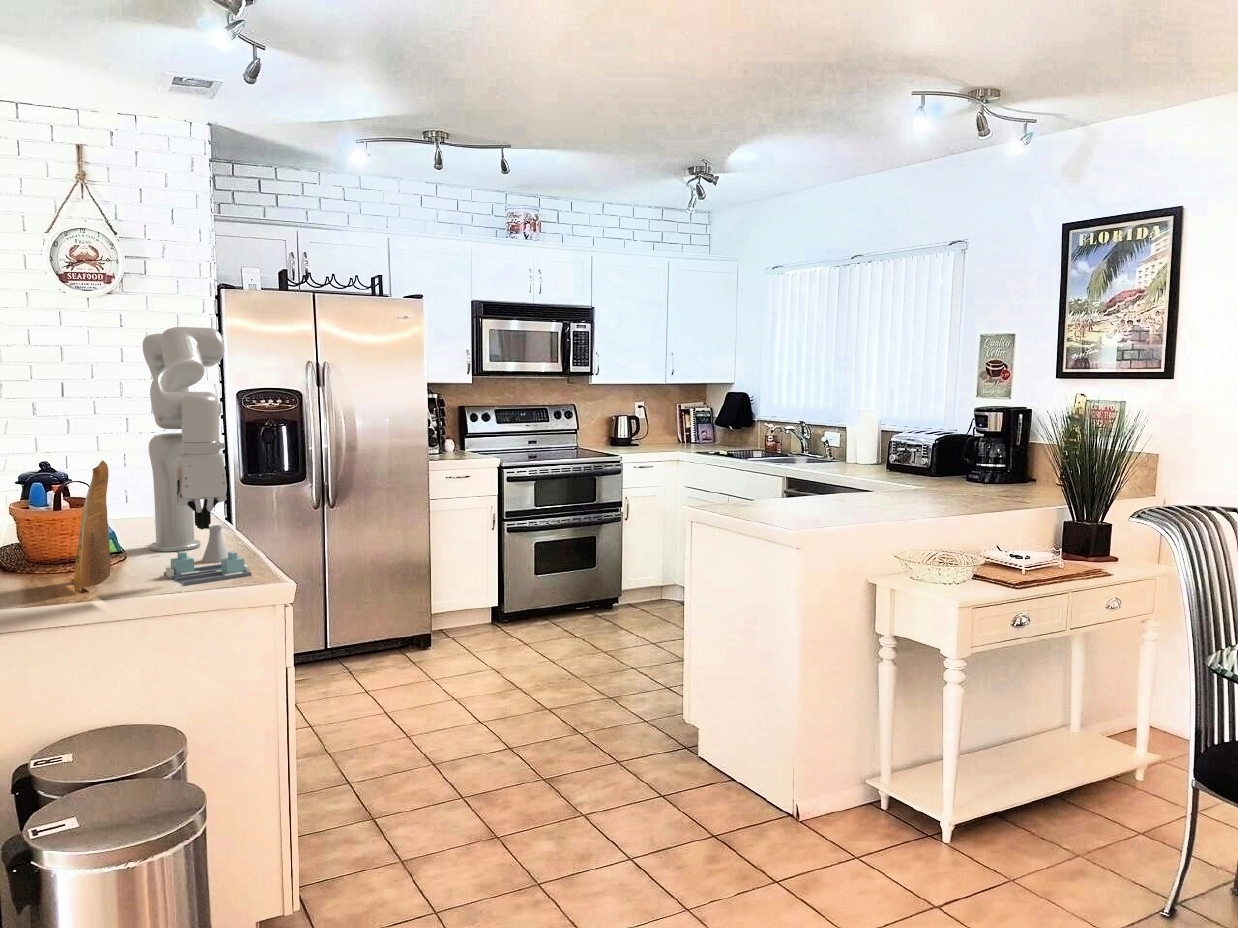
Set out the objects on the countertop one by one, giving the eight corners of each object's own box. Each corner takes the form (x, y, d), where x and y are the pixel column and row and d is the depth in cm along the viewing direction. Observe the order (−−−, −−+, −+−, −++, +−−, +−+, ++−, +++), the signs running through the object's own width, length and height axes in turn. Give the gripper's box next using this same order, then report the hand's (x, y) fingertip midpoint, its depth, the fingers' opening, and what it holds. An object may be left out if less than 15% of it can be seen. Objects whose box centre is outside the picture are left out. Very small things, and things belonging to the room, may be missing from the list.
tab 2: (221, 575, 210) (220, 552, 210) (238, 572, 213) (238, 550, 213) (227, 577, 208) (226, 554, 207) (244, 575, 211) (244, 552, 210)
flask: (220, 568, 223) (218, 529, 222) (194, 566, 224) (193, 527, 223) (238, 562, 230) (237, 524, 229) (213, 561, 231) (212, 522, 230)
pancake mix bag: (123, 574, 214) (118, 459, 211) (101, 594, 196) (95, 467, 193) (91, 576, 212) (86, 459, 210) (66, 595, 194) (60, 468, 191)
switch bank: (163, 579, 210) (162, 566, 210) (227, 570, 221) (227, 557, 220) (185, 590, 200) (185, 577, 200) (252, 580, 210) (251, 567, 210)
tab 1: (171, 575, 209) (170, 552, 209) (189, 572, 212) (188, 550, 212) (176, 577, 207) (175, 554, 206) (194, 575, 210) (193, 552, 209)
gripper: (227, 445, 211) (229, 521, 213) (159, 449, 200) (162, 529, 203) (240, 448, 206) (242, 527, 208) (171, 452, 195) (174, 535, 197)
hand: (202, 528), depth 205 cm, fingers closed
